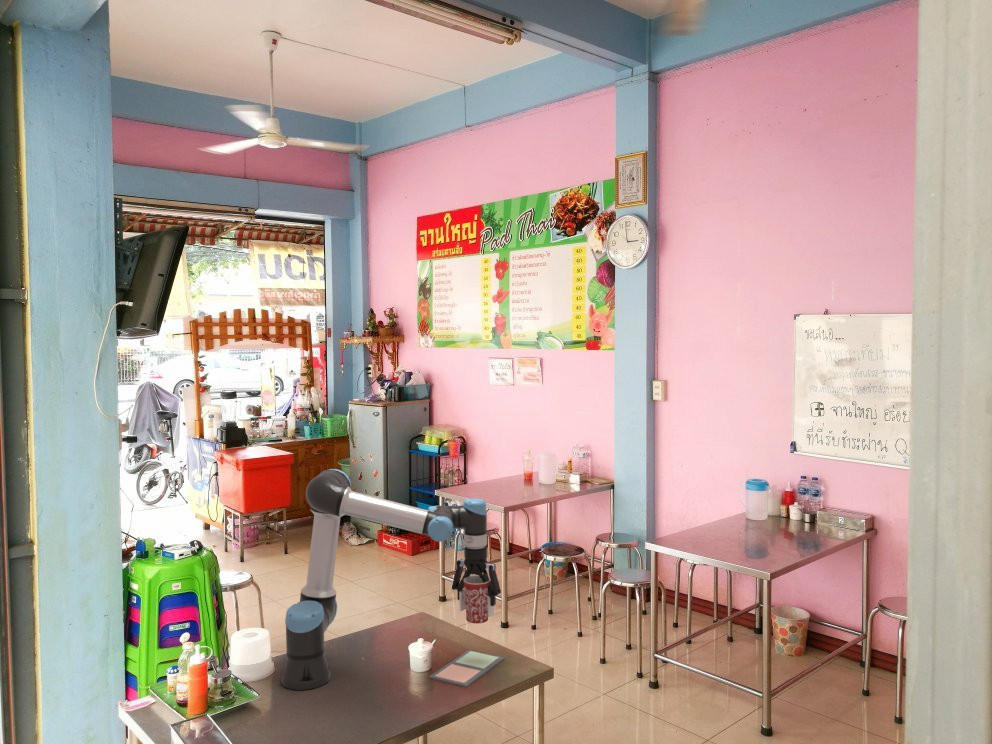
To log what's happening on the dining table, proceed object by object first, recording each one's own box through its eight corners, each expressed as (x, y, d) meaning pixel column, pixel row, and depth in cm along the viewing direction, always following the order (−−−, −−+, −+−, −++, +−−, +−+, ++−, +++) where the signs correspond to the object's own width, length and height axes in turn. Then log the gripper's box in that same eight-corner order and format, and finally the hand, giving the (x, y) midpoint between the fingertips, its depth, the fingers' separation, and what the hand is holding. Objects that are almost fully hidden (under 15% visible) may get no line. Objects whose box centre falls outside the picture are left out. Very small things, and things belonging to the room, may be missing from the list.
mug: (495, 622, 251) (494, 581, 251) (469, 626, 248) (468, 585, 247) (481, 610, 263) (481, 571, 262) (456, 614, 259) (456, 574, 259)
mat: (429, 678, 243) (429, 676, 243) (468, 651, 264) (468, 649, 264) (466, 687, 237) (466, 685, 237) (504, 659, 257) (504, 657, 257)
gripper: (440, 544, 257) (441, 610, 257) (500, 553, 245) (500, 621, 246) (452, 539, 263) (453, 603, 264) (511, 547, 252) (512, 614, 253)
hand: (476, 612), depth 255 cm, fingers closed on mug, 10 cm apart
